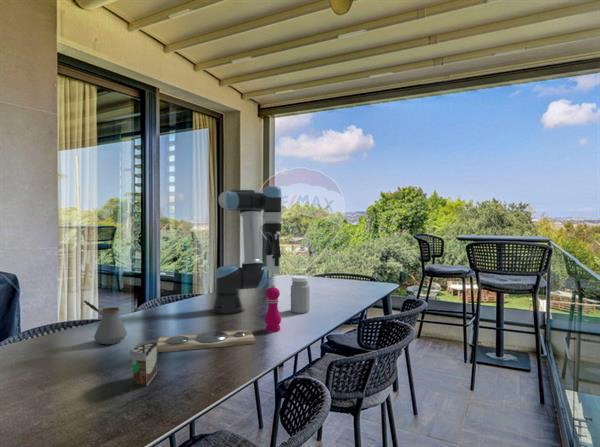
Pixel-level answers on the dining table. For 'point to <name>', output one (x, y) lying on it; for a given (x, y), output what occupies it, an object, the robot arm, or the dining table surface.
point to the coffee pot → (109, 326)
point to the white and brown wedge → (144, 362)
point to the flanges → (216, 336)
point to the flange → (177, 340)
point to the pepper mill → (272, 310)
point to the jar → (300, 294)
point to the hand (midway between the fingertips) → (272, 271)
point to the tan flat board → (194, 344)
